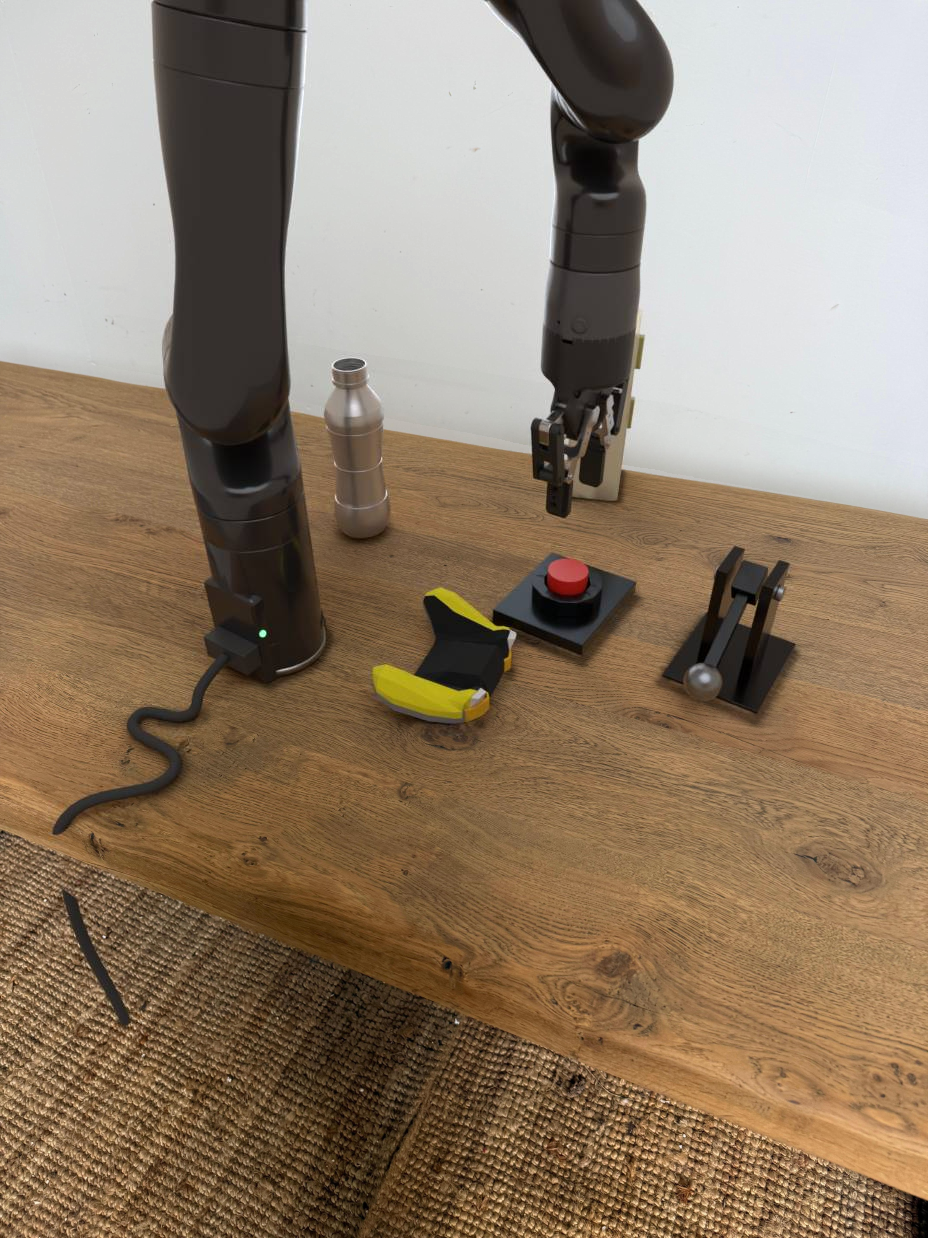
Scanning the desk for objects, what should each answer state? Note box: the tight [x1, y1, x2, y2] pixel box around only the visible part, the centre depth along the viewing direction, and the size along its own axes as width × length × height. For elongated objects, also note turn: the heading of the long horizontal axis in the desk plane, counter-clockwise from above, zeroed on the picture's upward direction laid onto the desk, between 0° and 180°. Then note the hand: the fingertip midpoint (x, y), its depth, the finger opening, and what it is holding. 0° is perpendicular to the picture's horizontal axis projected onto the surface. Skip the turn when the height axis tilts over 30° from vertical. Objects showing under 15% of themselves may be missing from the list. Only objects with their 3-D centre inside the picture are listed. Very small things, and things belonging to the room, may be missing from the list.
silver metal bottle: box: [323, 357, 392, 539], centre depth 95 cm, size 6×7×20 cm
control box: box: [492, 551, 637, 657], centre depth 87 cm, size 12×10×4 cm
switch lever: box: [683, 559, 769, 702], centre depth 74 cm, size 13×3×3 cm, turn 147°
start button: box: [547, 558, 589, 595], centre depth 86 cm, size 4×4×2 cm
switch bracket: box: [661, 545, 797, 715], centre depth 78 cm, size 11×9×12 cm
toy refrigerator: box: [566, 307, 646, 502], centre depth 102 cm, size 8×7×21 cm
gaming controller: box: [371, 587, 517, 725], centre depth 79 cm, size 15×6×10 cm
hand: (574, 498), depth 80 cm, fingers open, 5 cm apart
